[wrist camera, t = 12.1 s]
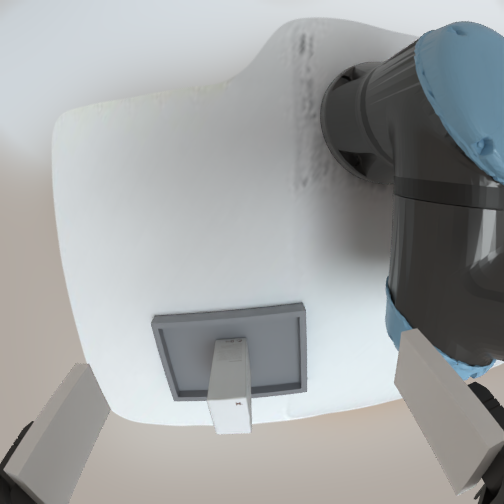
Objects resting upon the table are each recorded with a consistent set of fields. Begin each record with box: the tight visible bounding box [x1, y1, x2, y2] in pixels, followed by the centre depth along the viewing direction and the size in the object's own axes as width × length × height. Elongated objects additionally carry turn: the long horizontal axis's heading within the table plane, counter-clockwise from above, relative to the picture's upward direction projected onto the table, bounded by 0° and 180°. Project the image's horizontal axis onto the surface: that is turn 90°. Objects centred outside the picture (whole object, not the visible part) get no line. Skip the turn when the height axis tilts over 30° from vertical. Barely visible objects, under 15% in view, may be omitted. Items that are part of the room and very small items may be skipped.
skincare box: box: [207, 338, 252, 434], centre depth 35 cm, size 6×4×12 cm
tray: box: [151, 303, 307, 401], centre depth 40 cm, size 20×14×2 cm
